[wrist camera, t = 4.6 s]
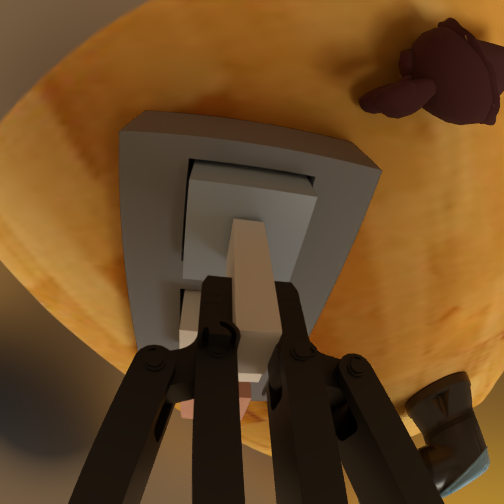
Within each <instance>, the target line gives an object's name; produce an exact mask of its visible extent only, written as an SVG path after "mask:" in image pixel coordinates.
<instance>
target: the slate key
mask: <svg viewBox="0 0 504 504" xmlns="http://www.w3.org/2000/svg"><path fill="white" fill-rule="evenodd" d="M316 200H317V195H316V193H315V192H314V190H313V188H312V186H311V184H310V182H309V180H308V178H307V176H306V175H304V174H298V173H292V172H287V171H281V170H274V169H268V168H262V167H255V166H248V165H241V164H233V163H226V162H218V161H209V160H200V159H195V163H194V166H193V169H192V172H191V176H190V179H189V189H188V200H187V213H186V226H185V242H184V260H183V279H192V280H202V281H204V280H205V278H206V277H207V276H208V275H211V276H221V277H226V260H227V254H228V248H229V242H230V236H231V230H232V224H233V218H234V219H243V220H251V221H259V222H264V223H265V229H266V235H267V241H268V247H269V253H270V259H271V265H272V271H273V277H274V281H282V282H289V281H290V278H291V275H292V272H293V270H294V267H295V264H296V261H297V258H298V255H299V252H300V249H301V246H302V243H303V240H304V237H305V234H306V231H307V228H308V225H309V222H310V219H311V216H312V213H313V210H314V206H315V203H316Z"/></svg>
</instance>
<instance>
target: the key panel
mask: <svg viewBox="0 0 504 504" xmlns="http://www.w3.org/2000/svg"><path fill="white" fill-rule="evenodd" d="M195 159H200V160H209V161H218V162H226V163H233V164H241V165H248V166H255V167H262V168H268V169H274V170H281V171H287V172H292V173H298V174H304V175H306V176H307V178H308V180H309V182H310V184H311V186H312V188H313V190H314V192H315V193H316V195H317V200H316V203H315V206H314V210H313V213H312V216H311V219H310V222H309V225H308V228H307V231H306V234H305V237H304V240H303V243H302V246H301V249H300V252H299V255H298V258H297V261H296V264H295V267H294V270H293V272H292V275H291V278H290V281H289V282H292V284H293V285H294V286H295V288H296V289H297V291H298V293H299V298H300V303H301V306H302V311H303V315H304V319H305V324H306V328H307V333H308V337H309V335H310V333H311V331H312V329H313V328H314V326H315V324H316V322H317V320H318V318H319V316H320V314H321V312H322V310H323V308H324V306H325V303H326V301H327V299H328V297H329V295H330V293H331V291H332V289H333V287H334V285H335V283H336V280H337V278H338V276H339V274H340V272H341V270H342V267H343V265H344V263H345V261H346V259H347V256H348V254H349V252H350V249H351V247H352V245H353V243H354V240H355V238H356V236H357V233H358V231H359V228H360V226H361V224H362V221H363V219H364V216H365V214H366V211H367V209H368V206H369V204H370V201H371V199H372V196H373V194H374V191H375V189H376V186H377V183H378V181H379V178H380V175H381V173H382V170H381V169H380V168H379V167H378V166H377V165H376V164H375V163H374V162H373V161H372V160H371V159H370V158H369V157H368V156H366V155H365V154H364V153H363V152H362V151H361V150H360V149H359V148H358V147H357V146H356V145H354V144H353V143H352V142H349V141H345V140H341V139H337V138H333V137H328V136H324V135H320V134H315V133H311V132H306V131H301V130H296V129H291V128H286V127H281V126H276V125H270V124H264V123H258V122H252V121H245V120H238V119H231V118H224V117H216V116H207V115H197V114H187V113H175V112H160V111H144V112H142V113H141V114H140V115H139V116H137V117H136V118H135V119H133V120H132V121H131V122H130V123H128V124H127V125H126V126H125V127H123V128H122V129H121V130H120V131H119V191H120V213H121V228H122V241H123V252H124V262H125V271H126V279H127V287H128V295H129V302H130V308H131V315H132V321H133V327H134V332H135V338H136V343H137V349H138V351H139V350H140V349H141V348H143V347H145V346H147V345H153V344H155V345H161V346H163V347H165V348H167V349H169V350H176V349H179V329H180V321H181V314H182V306H183V299H184V292H185V289H189V290H199V291H201V288H202V283H203V281H202V280H192V279H183V260H184V242H185V226H186V213H187V200H188V189H189V179H190V176H191V172H192V169H193V166H194V163H195ZM268 378H269V377H268V367H267V370H266V372H265V374H262V375H261V378H260V380H259V382H251V397H252V398H251V400H250V401H267V395H266V394H265V396H262V390H263V388H264V386H265V384H266V382H267V380H268Z"/></svg>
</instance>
